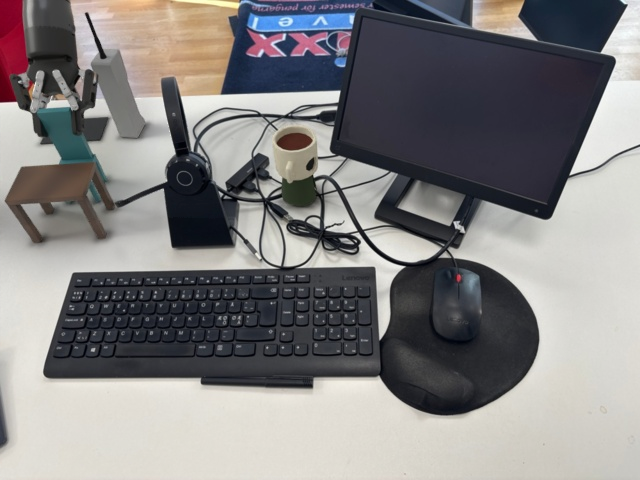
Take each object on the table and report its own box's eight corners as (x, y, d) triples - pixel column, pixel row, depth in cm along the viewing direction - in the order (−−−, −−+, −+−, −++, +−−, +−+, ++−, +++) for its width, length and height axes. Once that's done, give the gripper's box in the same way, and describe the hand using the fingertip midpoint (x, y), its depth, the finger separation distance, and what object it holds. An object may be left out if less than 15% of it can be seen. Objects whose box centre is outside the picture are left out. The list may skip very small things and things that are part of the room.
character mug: (313, 221, 88) (309, 162, 78) (273, 216, 89) (264, 158, 79) (324, 177, 95) (322, 118, 85) (287, 174, 96) (280, 115, 86)
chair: (107, 178, 97) (72, 106, 85) (99, 201, 93) (62, 129, 81) (75, 180, 97) (36, 108, 85) (66, 203, 93) (24, 131, 81)
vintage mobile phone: (146, 123, 108) (103, 3, 89) (138, 138, 105) (92, 17, 86) (129, 123, 108) (82, 3, 89) (120, 138, 105) (70, 17, 86)
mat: (40, 144, 105) (40, 143, 105) (51, 121, 110) (51, 120, 110) (100, 140, 105) (99, 139, 105) (108, 118, 110) (107, 116, 110)
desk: (33, 243, 87) (4, 200, 80) (47, 209, 92) (21, 166, 85) (105, 238, 87) (82, 195, 80) (115, 204, 92) (94, 161, 85)
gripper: (-8, 26, 81) (3, 136, 82) (83, 20, 81) (93, 130, 82) (19, 41, 89) (29, 141, 90) (103, 36, 89) (112, 136, 90)
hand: (60, 135), depth 86 cm, fingers closed on chair, 5 cm apart
